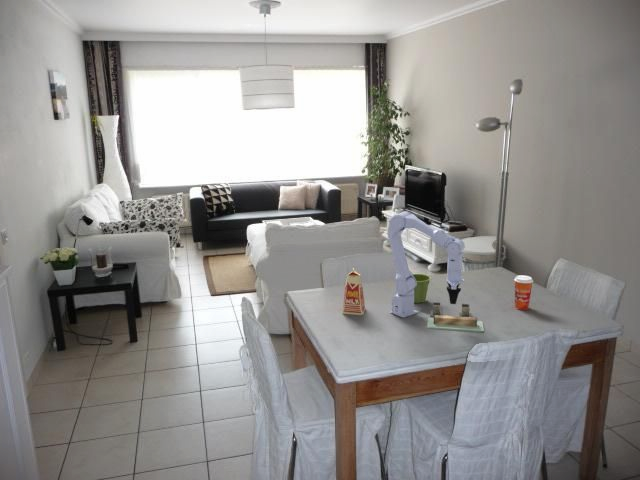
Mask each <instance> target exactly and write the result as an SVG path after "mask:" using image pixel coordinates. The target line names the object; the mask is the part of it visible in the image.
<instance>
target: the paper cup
mask: <svg viewBox="0 0 640 480" xmlns="http://www.w3.org/2000/svg"><path fill="white" fill-rule="evenodd" d="M513 280H514V308H515V309H516V308H517V310H520V311H527V310H528V309H529V307H530V301H531V293H532V287H533V283H534V280H533V278H532V277H531V276H529V275H523V274H521V275H516V276H515V278H514V279H513Z"/></svg>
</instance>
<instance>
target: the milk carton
mask: <svg viewBox="0 0 640 480" xmlns="http://www.w3.org/2000/svg"><path fill="white" fill-rule="evenodd" d="M345 280H346V281H345V286H344V298H343V306H342V313H341V314H342V315H343V314H344V315H355V316H364V313H365V310H366V303H365V296H364V287H363V282H362V281H363V280H362V275H361V274H360V273H359V272H357V271H356V270H355V268H354V267H352V270H351V272H349V273H348V274H347V276H346V279H345Z"/></svg>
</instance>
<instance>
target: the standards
mask: <svg viewBox="0 0 640 480" xmlns="http://www.w3.org/2000/svg"><path fill="white" fill-rule="evenodd" d="M434 315H442V316H443V311H441V302H440V301H433V302H432V310H430V315H429V316H430V317H429V318H434ZM458 317H472V313H470V303H461V312H459V313H458Z"/></svg>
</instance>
